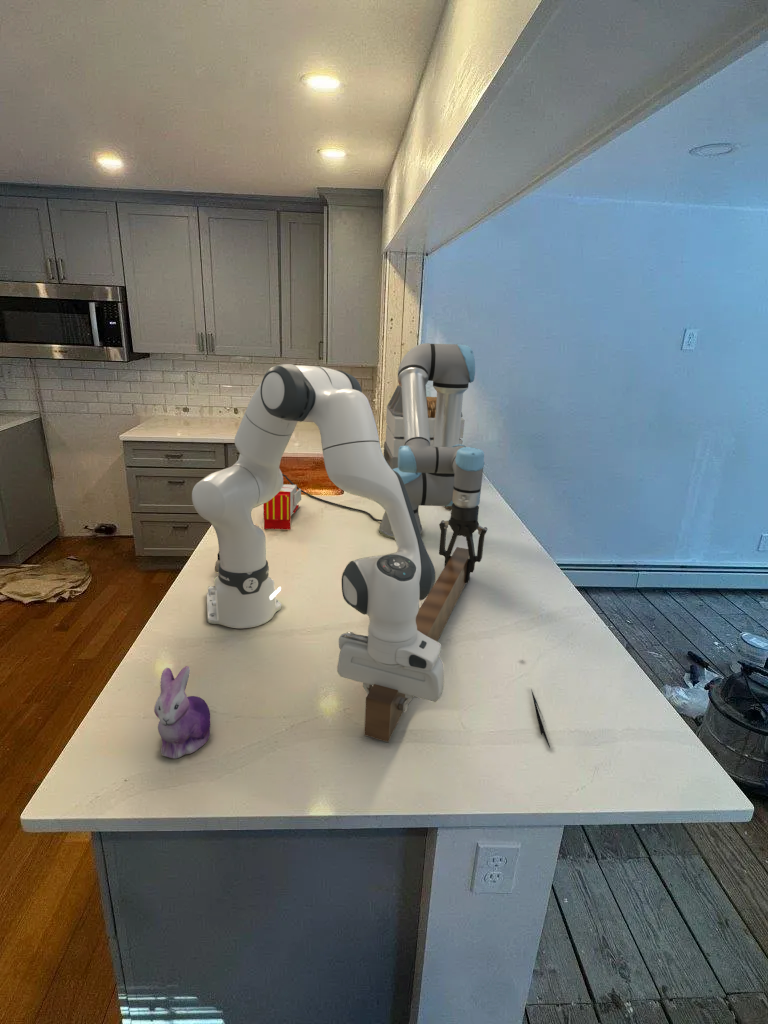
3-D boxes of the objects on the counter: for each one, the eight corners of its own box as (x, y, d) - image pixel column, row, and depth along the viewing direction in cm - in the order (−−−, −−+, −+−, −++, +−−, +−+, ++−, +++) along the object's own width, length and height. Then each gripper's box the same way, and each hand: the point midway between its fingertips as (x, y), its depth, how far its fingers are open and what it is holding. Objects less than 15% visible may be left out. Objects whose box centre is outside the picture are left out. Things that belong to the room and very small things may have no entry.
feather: (522, 665, 130) (528, 659, 129) (549, 752, 103) (556, 745, 103) (516, 662, 130) (522, 655, 129) (542, 747, 103) (549, 740, 103)
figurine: (162, 769, 95) (153, 695, 90) (154, 730, 104) (146, 661, 99) (219, 752, 99) (214, 680, 94) (207, 716, 108) (202, 648, 103)
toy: (303, 479, 223) (293, 493, 194) (302, 513, 226) (293, 531, 196) (272, 479, 223) (257, 492, 193) (272, 512, 225) (258, 530, 196)
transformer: (382, 463, 289) (386, 382, 275) (445, 464, 293) (451, 384, 279) (390, 482, 257) (394, 392, 243) (460, 483, 261) (468, 394, 247)
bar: (454, 572, 171) (456, 546, 168) (469, 575, 170) (472, 549, 167) (364, 735, 104) (365, 697, 101) (388, 742, 103) (390, 704, 100)
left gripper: (332, 638, 103) (331, 700, 108) (441, 665, 97) (434, 730, 102) (345, 621, 109) (344, 681, 114) (449, 646, 103) (443, 708, 108)
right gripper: (430, 503, 156) (425, 579, 164) (495, 513, 151) (486, 591, 159) (437, 495, 163) (431, 568, 171) (499, 504, 157) (490, 580, 165)
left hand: (387, 704), depth 108 cm, fingers closed on bar, 5 cm apart
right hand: (458, 579), depth 165 cm, fingers closed on bar, 5 cm apart
